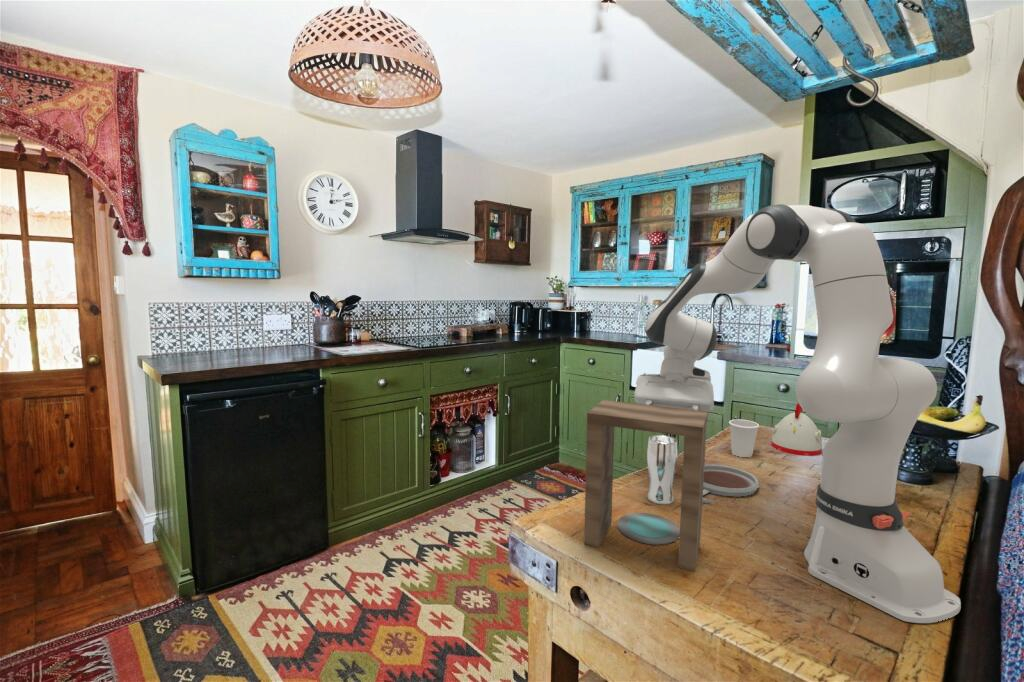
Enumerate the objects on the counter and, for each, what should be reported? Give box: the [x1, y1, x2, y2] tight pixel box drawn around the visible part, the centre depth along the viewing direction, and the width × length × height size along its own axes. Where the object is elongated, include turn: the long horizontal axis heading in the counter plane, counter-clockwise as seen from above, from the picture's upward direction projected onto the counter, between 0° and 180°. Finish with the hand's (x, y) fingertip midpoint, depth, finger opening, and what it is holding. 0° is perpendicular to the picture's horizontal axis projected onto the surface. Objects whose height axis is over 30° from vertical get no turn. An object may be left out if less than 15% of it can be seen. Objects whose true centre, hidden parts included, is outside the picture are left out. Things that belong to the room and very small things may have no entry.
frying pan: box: [681, 463, 760, 504], centre depth 122 cm, size 17×3×28 cm
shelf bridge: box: [583, 399, 709, 572], centre depth 99 cm, size 18×21×27 cm
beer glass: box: [646, 434, 678, 505], centre depth 116 cm, size 7×7×15 cm
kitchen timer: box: [771, 401, 823, 457], centre depth 153 cm, size 14×14×15 cm
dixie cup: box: [728, 418, 760, 458], centre depth 147 cm, size 8×8×10 cm
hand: (669, 419), depth 124 cm, fingers open, 8 cm apart
